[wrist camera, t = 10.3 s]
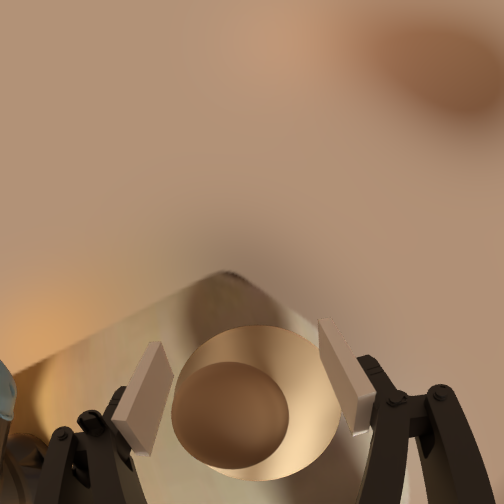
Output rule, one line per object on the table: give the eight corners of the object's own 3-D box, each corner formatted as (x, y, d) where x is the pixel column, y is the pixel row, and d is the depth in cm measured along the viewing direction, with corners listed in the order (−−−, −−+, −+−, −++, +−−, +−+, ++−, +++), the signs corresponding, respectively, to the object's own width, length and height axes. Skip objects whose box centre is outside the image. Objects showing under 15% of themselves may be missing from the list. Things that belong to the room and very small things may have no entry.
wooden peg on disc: (186, 477, 16) (79, 541, 4) (175, 335, 23) (68, 255, 10) (346, 463, 16) (432, 533, 3) (325, 317, 22) (376, 209, 10)
